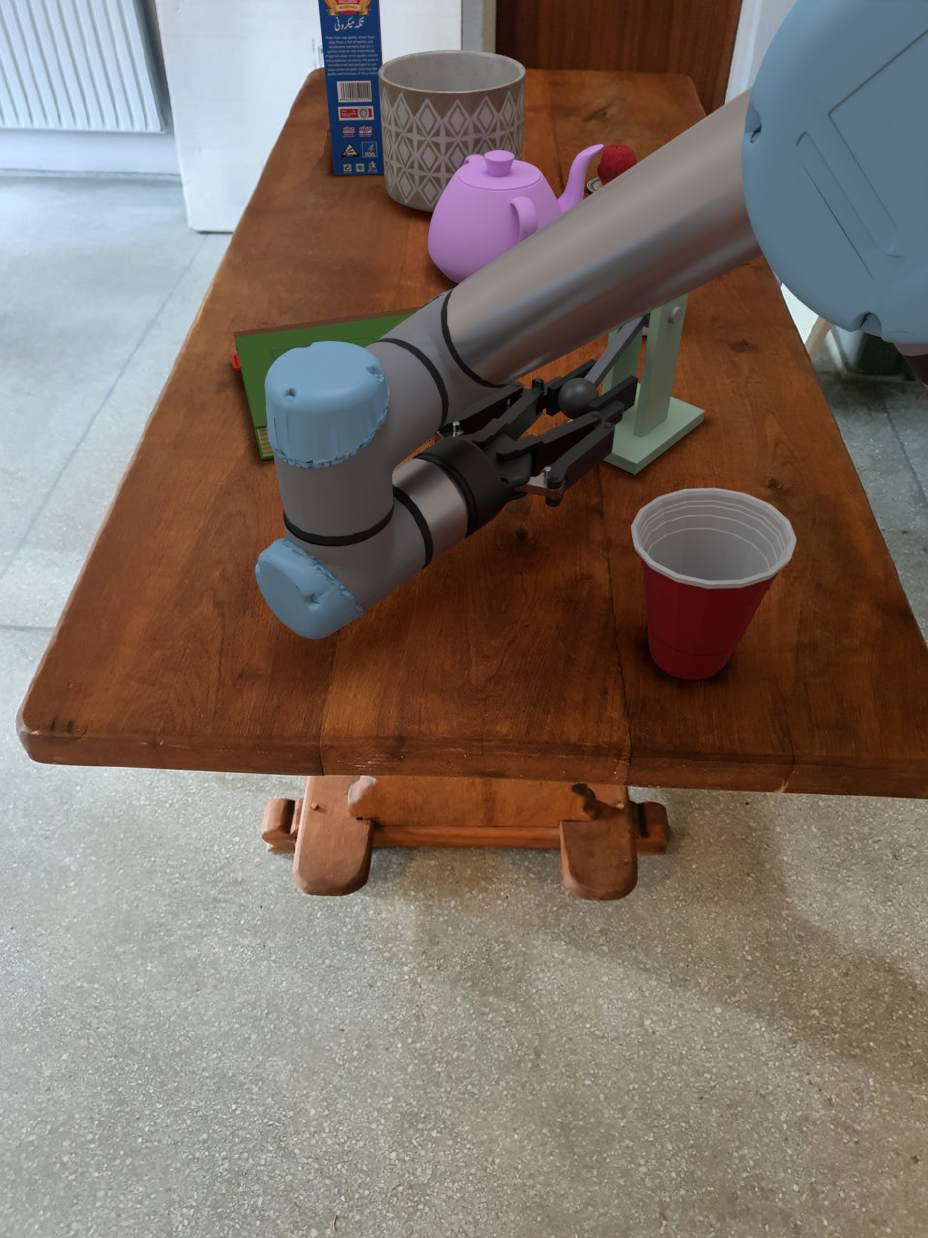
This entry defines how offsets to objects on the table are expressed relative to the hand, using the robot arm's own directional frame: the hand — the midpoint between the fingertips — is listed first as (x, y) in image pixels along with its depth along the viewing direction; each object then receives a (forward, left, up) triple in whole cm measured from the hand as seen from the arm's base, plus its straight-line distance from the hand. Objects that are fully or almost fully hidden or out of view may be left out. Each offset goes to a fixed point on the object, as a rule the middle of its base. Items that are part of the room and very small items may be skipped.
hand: (612, 381), depth 85 cm
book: (+26, +3, -8) cm, 27 cm away
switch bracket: (-1, -4, -7) cm, 9 cm away
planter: (+44, -47, -8) cm, 65 cm away
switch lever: (0, 0, +1) cm, 1 cm away
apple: (+25, -61, -8) cm, 67 cm away
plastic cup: (-16, +22, -8) cm, 28 cm away
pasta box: (+69, -60, -8) cm, 92 cm away
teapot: (+26, -31, -8) cm, 42 cm away
